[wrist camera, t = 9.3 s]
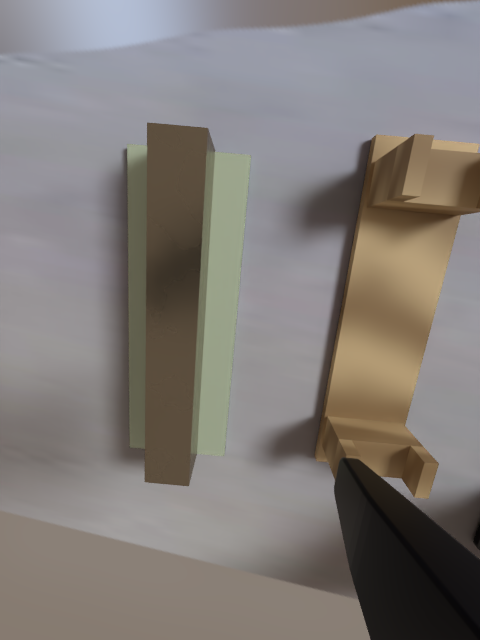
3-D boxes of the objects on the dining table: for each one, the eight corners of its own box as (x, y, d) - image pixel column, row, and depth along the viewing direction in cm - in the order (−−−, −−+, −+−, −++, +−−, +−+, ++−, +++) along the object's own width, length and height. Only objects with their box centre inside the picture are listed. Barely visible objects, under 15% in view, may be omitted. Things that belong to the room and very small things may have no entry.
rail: (196, 452, 21) (188, 486, 18) (159, 449, 21) (144, 482, 18) (215, 150, 16) (207, 128, 13) (165, 146, 16) (147, 122, 13)
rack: (389, 462, 21) (425, 516, 17) (314, 455, 21) (331, 507, 17) (471, 147, 16) (554, 109, 12) (371, 138, 16) (418, 97, 12)
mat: (224, 452, 21) (224, 456, 21) (131, 443, 21) (129, 447, 21) (250, 157, 16) (250, 155, 16) (130, 146, 16) (127, 144, 16)
